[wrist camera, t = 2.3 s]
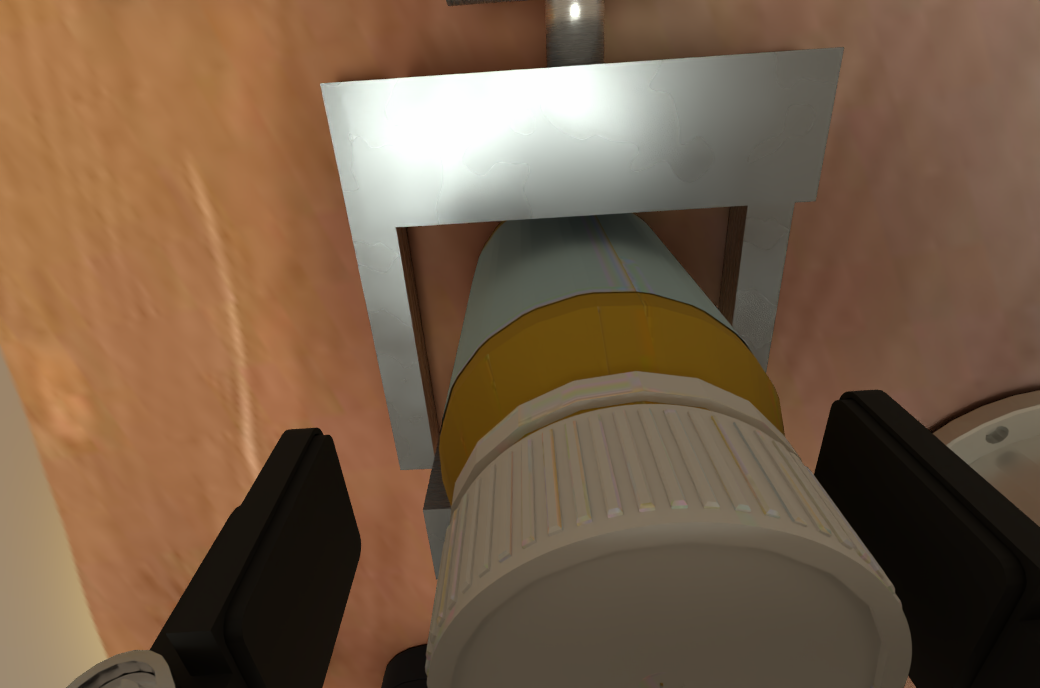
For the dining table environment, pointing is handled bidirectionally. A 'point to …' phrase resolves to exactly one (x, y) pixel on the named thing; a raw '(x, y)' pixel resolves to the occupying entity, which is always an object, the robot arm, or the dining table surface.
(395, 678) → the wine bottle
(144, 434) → the dining table surface
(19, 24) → the dining table surface
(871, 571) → the bottle
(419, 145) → the vise
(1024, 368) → the dining table surface
